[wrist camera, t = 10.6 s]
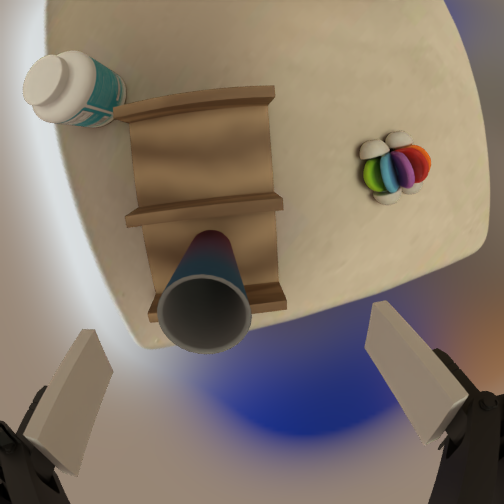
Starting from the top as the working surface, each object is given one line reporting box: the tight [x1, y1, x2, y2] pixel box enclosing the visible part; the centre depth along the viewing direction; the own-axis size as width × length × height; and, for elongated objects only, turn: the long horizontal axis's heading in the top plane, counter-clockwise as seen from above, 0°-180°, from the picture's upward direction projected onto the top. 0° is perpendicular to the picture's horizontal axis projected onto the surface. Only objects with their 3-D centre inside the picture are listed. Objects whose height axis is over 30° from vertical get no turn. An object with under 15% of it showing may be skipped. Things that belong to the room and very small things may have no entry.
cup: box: [157, 230, 252, 354], centre depth 26 cm, size 7×7×15 cm
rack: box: [113, 86, 287, 323], centre depth 29 cm, size 24×16×6 cm, turn 4°
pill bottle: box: [23, 50, 126, 128], centre depth 20 cm, size 8×7×14 cm
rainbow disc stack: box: [360, 131, 431, 205], centre depth 29 cm, size 8×10×7 cm
